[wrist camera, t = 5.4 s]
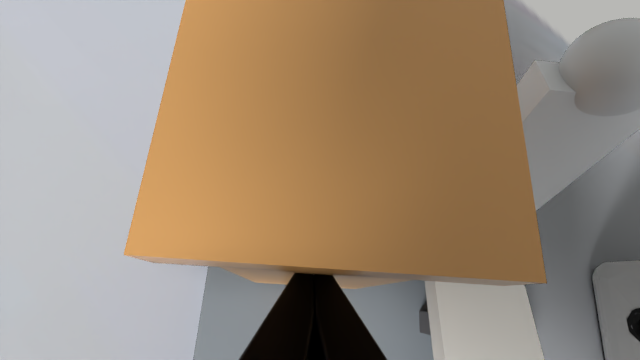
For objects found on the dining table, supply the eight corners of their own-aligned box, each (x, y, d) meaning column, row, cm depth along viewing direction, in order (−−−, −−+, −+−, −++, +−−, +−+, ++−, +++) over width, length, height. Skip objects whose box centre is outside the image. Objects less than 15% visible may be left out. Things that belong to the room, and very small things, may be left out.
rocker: (542, 428, 12) (563, 431, 11) (441, 424, 11) (453, 427, 10) (501, 255, 15) (514, 247, 14) (420, 250, 14) (429, 241, 14)
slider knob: (359, 294, 14) (546, 283, 4) (249, 287, 14) (123, 255, 3) (361, 190, 15) (499, -25, 5) (262, 182, 15) (200, -60, 5)
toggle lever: (492, 259, 14) (757, 66, 6) (424, 254, 14) (608, 51, 6) (481, 215, 15) (692, 5, 7) (418, 210, 15) (565, -9, 7)
